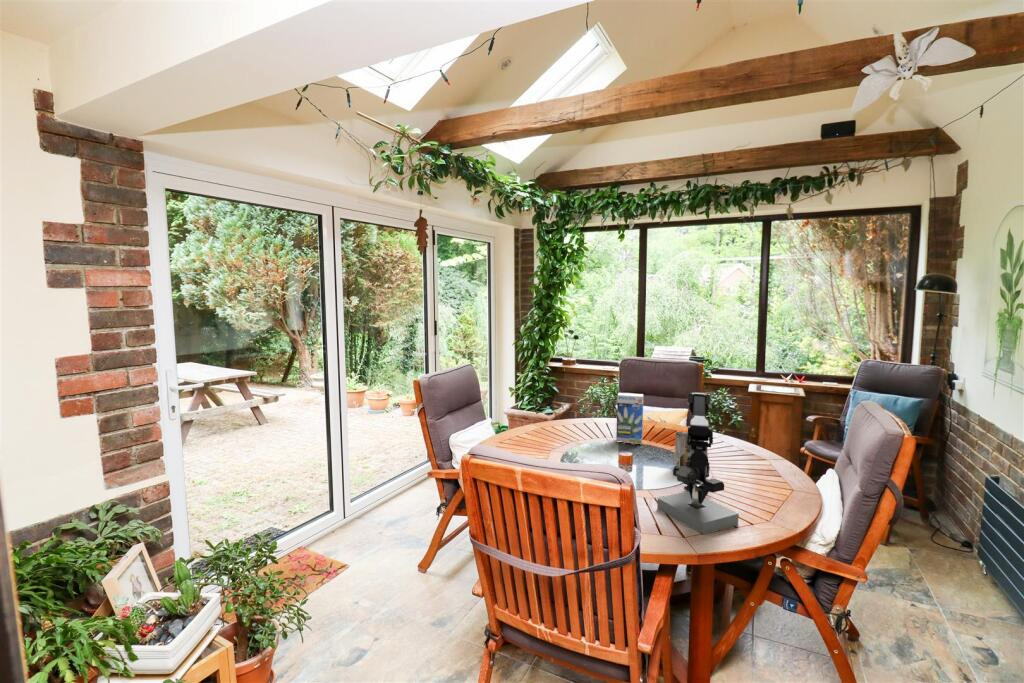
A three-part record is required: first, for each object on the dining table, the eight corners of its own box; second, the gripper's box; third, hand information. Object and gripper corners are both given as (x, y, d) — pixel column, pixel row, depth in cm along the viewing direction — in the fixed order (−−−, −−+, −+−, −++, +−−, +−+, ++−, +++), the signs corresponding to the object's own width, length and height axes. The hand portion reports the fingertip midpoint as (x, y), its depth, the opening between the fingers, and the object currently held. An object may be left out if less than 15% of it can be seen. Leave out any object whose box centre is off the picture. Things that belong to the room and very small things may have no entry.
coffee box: (693, 465, 229) (695, 431, 227) (699, 470, 223) (700, 435, 221) (674, 466, 229) (675, 431, 227) (679, 471, 222) (680, 435, 221)
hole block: (657, 508, 184) (657, 498, 183) (689, 500, 191) (690, 490, 190) (703, 534, 164) (704, 522, 164) (738, 524, 171) (738, 513, 171)
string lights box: (615, 443, 263) (616, 394, 261) (617, 439, 271) (618, 392, 268) (641, 445, 260) (643, 396, 257) (642, 441, 267) (643, 393, 264)
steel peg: (690, 509, 178) (690, 484, 177) (696, 507, 179) (697, 483, 178) (696, 512, 175) (697, 487, 174) (702, 510, 176) (703, 486, 176)
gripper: (661, 454, 180) (660, 496, 182) (701, 471, 164) (700, 516, 165) (685, 450, 185) (683, 490, 187) (726, 465, 168) (724, 510, 170)
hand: (696, 501), depth 177 cm, fingers closed on steel peg, 3 cm apart
